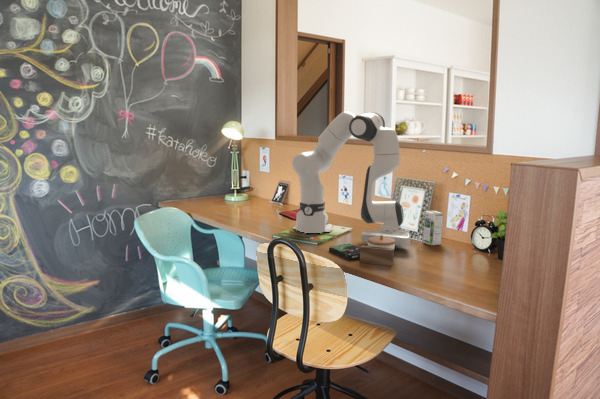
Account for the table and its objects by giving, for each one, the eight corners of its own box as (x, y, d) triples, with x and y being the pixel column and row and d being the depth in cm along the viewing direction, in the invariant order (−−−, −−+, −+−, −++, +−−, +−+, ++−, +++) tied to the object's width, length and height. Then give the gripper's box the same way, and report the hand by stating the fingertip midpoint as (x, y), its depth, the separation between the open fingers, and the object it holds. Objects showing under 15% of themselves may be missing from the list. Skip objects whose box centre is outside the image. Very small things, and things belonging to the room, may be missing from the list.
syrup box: (422, 242, 209) (424, 210, 207) (433, 241, 211) (435, 210, 209) (430, 245, 204) (432, 213, 201) (441, 244, 206) (443, 212, 204)
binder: (302, 208, 276) (319, 215, 258) (302, 212, 276) (319, 219, 258) (277, 211, 269) (293, 218, 250) (277, 215, 269) (294, 222, 251)
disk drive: (370, 258, 185) (348, 249, 198) (370, 252, 185) (349, 242, 197) (349, 262, 180) (328, 252, 193) (349, 255, 180) (328, 245, 192)
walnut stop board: (360, 260, 181) (361, 245, 180) (393, 264, 177) (393, 248, 176) (359, 262, 179) (360, 247, 178) (392, 265, 175) (393, 250, 174)
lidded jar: (400, 259, 182) (401, 236, 181) (379, 264, 177) (380, 240, 175) (381, 253, 191) (382, 231, 190) (361, 256, 186) (362, 234, 184)
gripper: (364, 225, 204) (357, 232, 191) (412, 229, 197) (408, 237, 185) (363, 239, 205) (357, 247, 192) (411, 244, 198) (407, 252, 186)
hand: (382, 242), depth 188 cm, fingers closed
